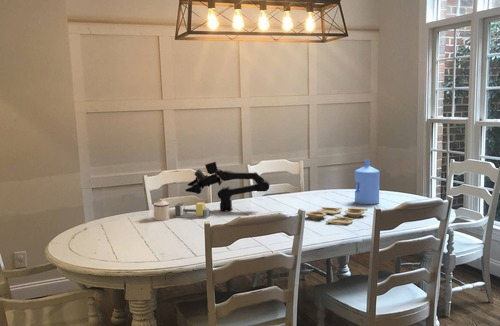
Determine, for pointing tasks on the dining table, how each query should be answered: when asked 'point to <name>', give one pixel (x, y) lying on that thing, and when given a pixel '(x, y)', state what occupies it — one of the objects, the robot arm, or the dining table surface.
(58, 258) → the dining table surface
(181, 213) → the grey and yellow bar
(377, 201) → the water jug
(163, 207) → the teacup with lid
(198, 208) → the sleeve
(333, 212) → the tableware set
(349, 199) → the dining table surface
